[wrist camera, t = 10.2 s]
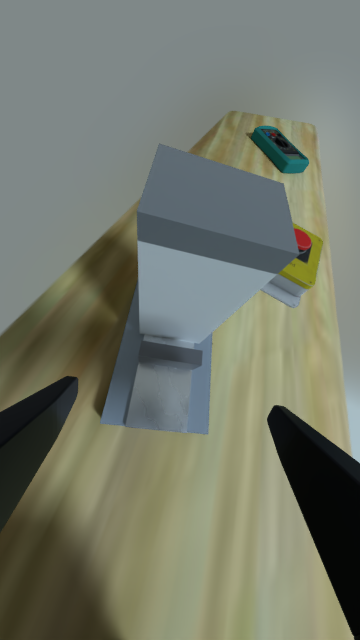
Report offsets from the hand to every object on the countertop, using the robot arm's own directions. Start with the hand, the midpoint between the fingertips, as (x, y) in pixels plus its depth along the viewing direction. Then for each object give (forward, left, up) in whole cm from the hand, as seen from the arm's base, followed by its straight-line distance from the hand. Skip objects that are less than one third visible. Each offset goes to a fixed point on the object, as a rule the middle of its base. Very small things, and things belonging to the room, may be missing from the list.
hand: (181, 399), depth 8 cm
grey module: (+7, +2, -8) cm, 11 cm away
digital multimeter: (+60, -7, -11) cm, 61 cm away
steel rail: (+5, +1, -8) cm, 10 cm away
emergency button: (+25, -11, -11) cm, 29 cm away
